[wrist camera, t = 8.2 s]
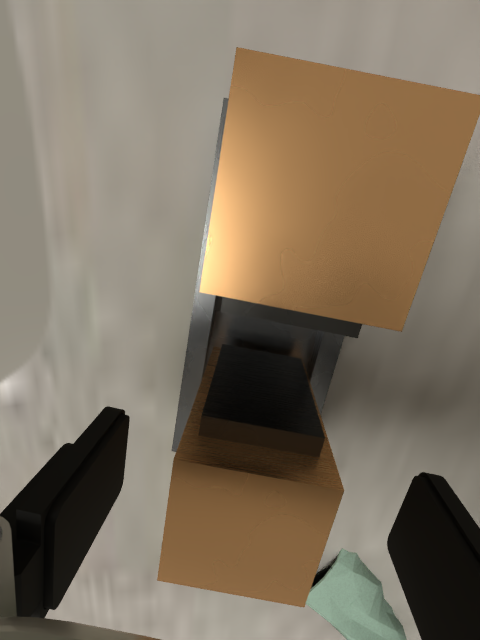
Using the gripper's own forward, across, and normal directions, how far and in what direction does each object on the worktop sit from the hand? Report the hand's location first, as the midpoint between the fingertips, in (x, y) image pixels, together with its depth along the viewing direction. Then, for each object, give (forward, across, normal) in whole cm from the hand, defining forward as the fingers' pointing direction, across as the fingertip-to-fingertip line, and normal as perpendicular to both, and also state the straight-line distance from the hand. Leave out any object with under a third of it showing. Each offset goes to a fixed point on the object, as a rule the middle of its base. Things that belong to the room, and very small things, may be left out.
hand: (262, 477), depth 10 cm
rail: (+6, +1, -4) cm, 7 cm away
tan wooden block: (+5, +1, 0) cm, 5 cm away
